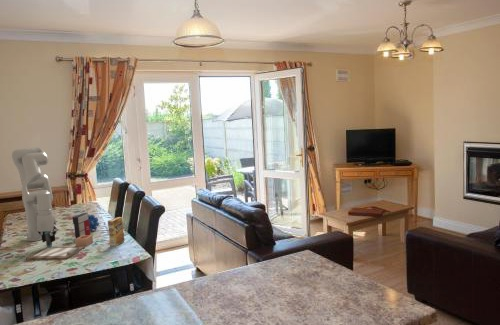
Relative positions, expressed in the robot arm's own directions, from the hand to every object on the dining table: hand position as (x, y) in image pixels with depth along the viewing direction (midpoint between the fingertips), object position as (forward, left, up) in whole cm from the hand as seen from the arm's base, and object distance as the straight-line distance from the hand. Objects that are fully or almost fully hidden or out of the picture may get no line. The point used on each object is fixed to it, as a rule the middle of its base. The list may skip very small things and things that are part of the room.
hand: (48, 241), depth 231 cm
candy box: (+42, +3, -4) cm, 42 cm away
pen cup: (+21, +3, -3) cm, 21 cm away
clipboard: (+13, -13, -3) cm, 19 cm away
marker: (0, 0, -3) cm, 3 cm away
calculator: (+12, +17, -4) cm, 21 cm away
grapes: (+10, +31, -4) cm, 33 cm away
